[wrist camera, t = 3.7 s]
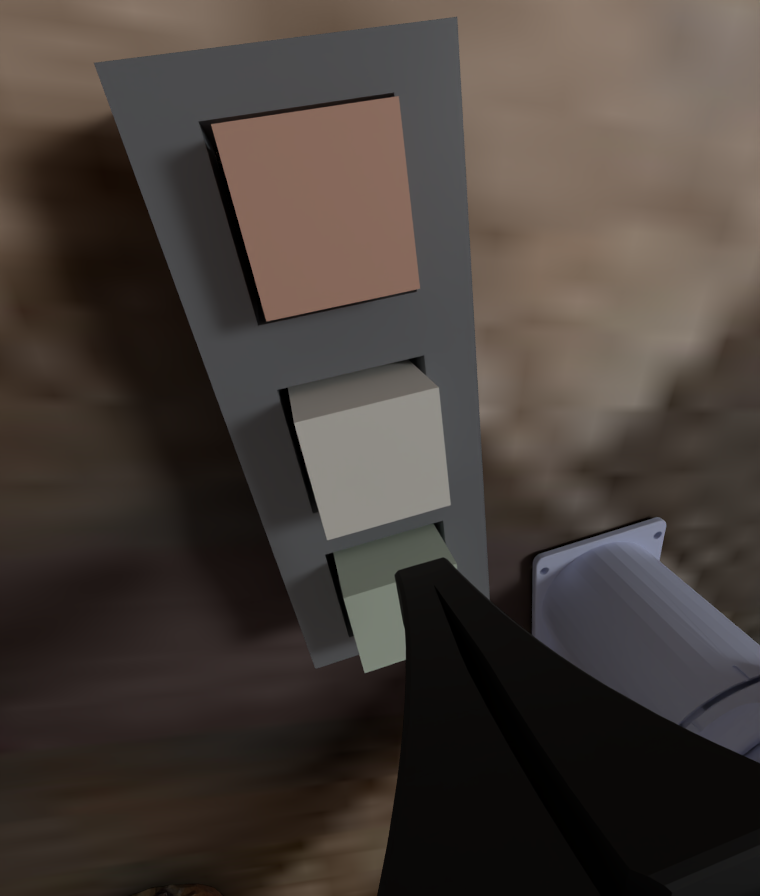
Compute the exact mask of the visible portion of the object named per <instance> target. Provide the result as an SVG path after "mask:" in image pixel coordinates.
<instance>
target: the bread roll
mask: <svg viewBox="0 0 760 896" xmlns="http://www.w3.org/2000/svg"><path fill="white" fill-rule="evenodd" d="M131 896H223V895H222V894H221V893H220V892H219V891H217V890H216V889H215V888H213V887H210V886H206V885H201V884H185V885H168V886H164V887H154V888H150V889H147V890H145V891H142V892H140V893H136V894H133V895H131Z"/></svg>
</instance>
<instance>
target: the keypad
mask: <svg viewBox="0 0 760 896" xmlns="http://www.w3.org/2000/svg"><path fill="white" fill-rule="evenodd" d="M94 64H95V67H96V70H97V73H98V75H99V78H100V81H101V84H102V86H103V89H104V92H105V95H106V97H107V100H108V103H109V105H110V108H111V111H112V114H113V116H114V119H115V122H116V125H117V127H118V130H119V133H120V136H121V138H122V141H123V144H124V146H125V149H126V152H127V155H128V157H129V160H130V163H131V166H132V168H133V171H134V174H135V177H136V179H137V182H138V185H139V187H140V190H141V193H142V196H143V198H144V201H145V204H146V207H147V209H148V212H149V215H150V218H151V220H152V223H153V226H154V228H155V231H156V234H157V237H158V239H159V242H160V245H161V248H162V250H163V253H164V256H165V259H166V261H167V264H168V267H169V269H170V272H171V275H172V278H173V280H174V283H175V286H176V289H177V291H178V294H179V297H180V300H181V302H182V305H183V308H184V310H185V313H186V316H187V319H188V321H189V324H190V327H191V330H192V332H193V335H194V338H195V341H196V343H197V346H198V349H199V351H200V354H201V357H202V360H203V362H204V365H205V368H206V371H207V373H208V376H209V379H210V382H211V384H212V387H213V390H214V392H215V395H216V398H217V401H218V403H219V406H220V409H221V412H222V414H223V417H224V420H225V423H226V425H227V428H228V431H229V433H230V436H231V439H232V442H233V444H234V447H235V450H236V453H237V455H238V458H239V461H240V464H241V466H242V469H243V472H244V474H245V477H246V480H247V483H248V485H249V488H250V491H251V494H252V496H253V499H254V502H255V505H256V507H257V510H258V513H259V515H260V518H261V521H262V524H263V526H264V529H265V532H266V535H267V537H268V540H269V543H270V545H271V548H272V551H273V554H274V556H275V559H276V562H277V565H278V567H279V570H280V573H281V576H282V578H283V581H284V584H285V586H286V589H287V592H288V595H289V597H290V600H291V603H292V606H293V608H294V611H295V614H296V617H297V619H298V622H299V625H300V627H301V630H302V633H303V636H304V638H305V641H306V644H307V647H308V649H309V652H310V655H311V658H312V660H313V663H314V666H315V668H319V667H322V666H325V665H328V664H332V663H335V662H338V661H341V660H344V659H347V658H350V657H353V656H356V655H359V651H358V648H357V644H356V641H355V637H354V634H353V630H352V627H351V623H350V619H349V616H348V612H347V609H346V605H345V602H344V598H343V594H342V589H341V585H340V581H339V578H338V579H336V576H335V573H334V569H333V566H332V562H331V559H330V555H329V553H333V552H336V551H340V550H343V549H347V548H350V547H354V546H357V545H360V544H364V543H367V542H371V541H374V540H378V539H381V538H384V537H388V536H391V535H395V534H398V533H402V532H405V531H409V530H412V529H415V528H419V527H422V526H426V525H429V524H434V525H435V527H436V529H437V531H438V532H439V534H440V536H441V537H442V539H443V541H444V543H445V544H446V546H447V548H448V549H449V551H450V553H451V555H452V556H453V558H454V560H455V561H456V563H457V570H458V571H459V572H460V573H461V574H462V575H463V576H464V577H465V578H466V579H467V580H468V581H469V582H470V583H471V584H473V585H474V586H475V587H476V588H477V589H478V590H479V591H480V592H481V593H482V594H483V595H484V596H486V597H487V598H488V599H489V600H490V596H489V578H488V560H487V542H486V524H485V506H484V488H483V471H482V453H481V435H480V417H479V399H478V381H477V363H476V346H475V328H474V310H473V292H472V274H471V256H470V238H469V221H468V203H467V185H466V167H465V149H464V131H463V114H462V96H461V78H460V60H459V42H458V24H457V17H452V18H444V19H436V20H429V21H421V22H413V23H405V24H397V25H389V26H381V27H373V28H365V29H358V30H350V31H342V32H334V33H326V34H318V35H310V36H302V37H295V38H287V39H279V40H271V41H263V42H255V43H247V44H239V45H231V46H224V47H216V48H208V49H200V50H192V51H184V52H176V53H168V54H161V55H153V56H145V57H137V58H129V59H121V60H113V61H105V62H97V63H94ZM396 96H399V102H400V111H401V120H402V129H403V138H404V148H405V157H406V166H407V175H408V184H409V193H410V202H411V211H412V220H413V229H414V238H415V247H416V256H417V265H418V274H419V283H420V289H416V290H412V291H407V292H402V293H398V294H393V295H388V296H384V297H379V298H374V299H370V300H365V301H360V302H356V303H351V304H346V305H341V306H337V307H332V308H327V309H323V310H318V311H313V312H309V313H304V314H299V315H295V316H290V317H285V318H281V319H276V320H271V321H267V322H266V318H265V314H264V311H263V307H262V305H259V306H258V303H257V299H256V296H255V292H254V289H253V285H252V282H251V278H250V275H249V271H248V268H247V264H246V261H245V257H244V254H243V250H242V247H241V243H240V240H239V236H238V233H237V229H236V226H235V222H234V219H233V215H232V212H231V208H230V205H229V201H228V198H227V194H226V191H225V187H224V184H223V180H222V177H221V173H220V170H219V166H218V163H217V159H216V156H215V152H214V149H213V146H215V145H217V144H216V140H215V137H214V133H213V130H212V126H211V124H216V123H222V122H229V121H236V120H242V119H249V118H256V117H262V116H269V115H276V114H282V113H289V112H296V111H303V110H309V109H316V108H323V107H329V106H336V105H343V104H349V103H356V102H363V101H369V100H376V99H383V98H389V97H396ZM406 359H408V360H409V361H410V362H411V363H413V364H414V365H415V366H416V367H417V368H418V369H419V370H420V371H421V372H423V373H424V374H425V375H426V376H427V377H428V378H429V379H430V380H431V381H433V382H434V383H435V384H436V385H437V386H438V387H439V394H440V403H441V413H442V423H443V433H444V443H445V453H446V463H447V472H448V482H449V492H450V502H451V505H449V506H446V507H442V508H439V509H435V510H432V511H428V512H425V513H422V514H418V515H415V516H411V517H408V518H404V519H401V520H397V521H394V522H390V523H387V524H383V525H380V526H376V527H373V528H369V529H366V530H362V531H359V532H355V533H352V534H348V535H345V536H341V537H338V538H334V539H331V540H327V538H326V535H325V531H324V528H323V524H322V520H321V517H320V513H319V510H318V506H317V503H316V499H315V496H314V492H313V489H312V485H311V482H310V478H309V474H308V471H307V467H306V465H305V466H304V464H303V461H302V457H301V454H300V450H299V447H298V443H297V440H296V436H295V433H294V429H293V426H292V422H291V419H290V415H289V412H288V408H287V405H286V401H285V398H284V394H283V391H282V389H283V388H288V387H292V386H296V385H300V384H305V383H309V382H313V381H317V380H322V379H326V378H330V377H334V376H339V375H343V374H347V373H351V372H355V371H360V370H364V369H368V368H372V367H377V366H381V365H385V364H389V363H394V362H398V361H402V360H406Z"/></svg>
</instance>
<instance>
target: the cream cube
mask: <svg viewBox="0 0 760 896" xmlns="http://www.w3.org/2000/svg"><path fill="white" fill-rule="evenodd" d="M288 392H289V398H290V403H291V409H292V415H293V420H294V425H295V428H296V432H297V436H298V439H299V443H300V446H301V450H302V453H303V457H304V460H305V464H306V467H307V471H308V474H309V478H310V482H311V485H312V489H313V492H314V496H315V499H316V503H317V506H318V510H319V513H320V517H321V520H322V524H323V528H324V531H325V535H326V538H327V540H331V539H334V538H338V537H341V536H345V535H348V534H352V533H355V532H359V531H362V530H366V529H369V528H373V527H376V526H380V525H383V524H387V523H390V522H394V521H397V520H401V519H404V518H408V517H411V516H415V515H418V514H422V513H425V512H428V511H432V510H435V509H439V508H442V507H446V506H449V505H451V502H450V492H449V482H448V472H447V463H446V453H445V443H444V433H443V423H442V413H441V403H440V394H439V387H438V386H437V385H436V384H435V383H434V382H433V381H431V380H430V379H429V378H428V377H427V376H426V375H425V374H424V373H423V372H421V371H420V370H419V369H418V368H417V367H416V366H415V365H414V364H413V363H411V362H410V361H409V360H408V359H406V360H402V361H398V362H394V363H389V364H385V365H381V366H377V367H372V368H368V369H364V370H360V371H355V372H351V373H347V374H343V375H339V376H334V377H330V378H326V379H322V380H317V381H313V382H309V383H305V384H300V385H296V386H292V387H288Z"/></svg>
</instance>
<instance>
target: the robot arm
mask: <svg viewBox="0 0 760 896" xmlns="http://www.w3.org/2000/svg"><path fill="white" fill-rule="evenodd" d="M665 529H666V522H665V521H664V520H662V519H661V518H659V517H657V518H652V519H649V520H646V521H643V522H640V523H636V524H633V525H630V526H627V527H624V528H620V529H617V530H614V531H611V532H608V533H604V534H601V535H598V536H595V537H591V538H588V539H585V540H582V541H579V542H575V543H572V544H569V545H566V546H563V547H559V548H556V549H553V550H550V551H547V552H543V553H540V554H538V555H537V556H536V557H535V558H534V560H533V576H532V635H531V634H530V633H529V632H528V631H526V630H525V629H524V628H522V627H521V626H520V625H519V624H517V623H516V622H515V621H514V620H512V619H511V618H510V617H509V616H508V615H506V614H505V613H504V612H503V611H502V610H501V609H499V608H498V607H497V606H496V605H495V604H493V603H492V602H491V601H490V600H489V599H488V598H487V597H486V596H484V595H483V594H482V593H481V592H480V591H479V590H478V589H477V588H476V587H475V586H474V585H473V584H471V583H470V582H469V581H468V580H467V579H466V578H465V577H464V576H463V575H462V574H461V573H460V572H459V571H458V570H457V569H456V568H455V567H454V566H453V565H452V564H451V562H450V561H449V560H448V559H446V558H444V557H442V558H439V559H435V560H432V561H428V562H425V563H421V564H418V565H414V566H411V567H408V568H404V569H401V570H398V571H397V572H396V573H395V575H394V576H395V582H396V587H397V593H398V598H399V604H400V609H401V615H402V620H403V625H404V628H405V642H406V685H405V707H404V721H403V733H402V743H401V753H400V762H399V770H398V778H397V785H396V792H395V798H394V805H393V812H392V818H391V825H390V831H389V837H388V843H387V848H386V854H385V859H384V864H383V869H382V874H381V879H380V884H379V889H378V894H377V896H760V645H759V644H758V643H756V642H755V641H754V640H753V639H752V638H750V637H749V636H748V635H747V634H746V633H744V632H743V631H742V630H741V629H740V628H738V627H737V626H736V625H735V624H734V623H732V622H731V621H730V620H729V619H728V618H727V617H725V616H724V615H723V614H722V613H721V612H719V611H718V610H717V609H716V608H715V607H713V606H712V605H711V604H710V603H709V602H707V601H706V600H705V599H704V598H703V597H702V596H700V595H699V594H698V593H697V592H696V591H694V590H693V589H692V588H691V587H690V586H688V585H687V584H686V583H685V582H684V581H682V580H681V579H680V578H679V577H678V576H677V575H675V574H674V573H673V572H672V571H671V570H669V569H668V568H667V567H666V566H665V565H663V564H662V563H661V562H660V561H659V559H660V554H661V549H662V544H663V539H664V534H665Z"/></svg>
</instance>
